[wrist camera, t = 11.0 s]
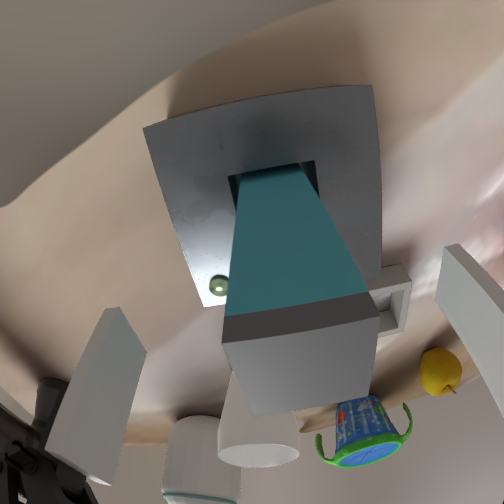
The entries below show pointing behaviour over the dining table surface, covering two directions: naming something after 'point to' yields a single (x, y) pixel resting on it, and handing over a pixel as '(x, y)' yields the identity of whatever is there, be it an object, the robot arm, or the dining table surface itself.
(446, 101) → the dining table surface
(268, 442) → the cup
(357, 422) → the snack cup
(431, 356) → the apple
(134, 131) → the dining table surface
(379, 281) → the holster
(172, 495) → the soap bottle
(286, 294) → the plug
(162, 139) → the port
